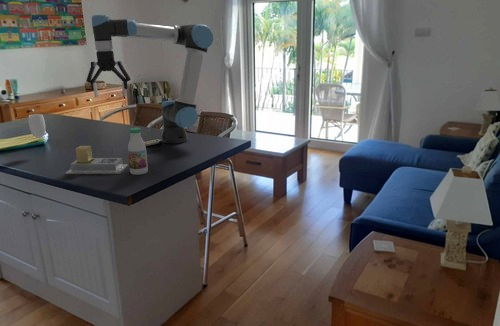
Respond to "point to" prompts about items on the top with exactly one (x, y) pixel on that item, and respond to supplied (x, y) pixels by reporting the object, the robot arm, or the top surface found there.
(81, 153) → the block
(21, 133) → the top surface
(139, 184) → the top surface
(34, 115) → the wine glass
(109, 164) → the butter dish
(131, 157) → the milk bottle
